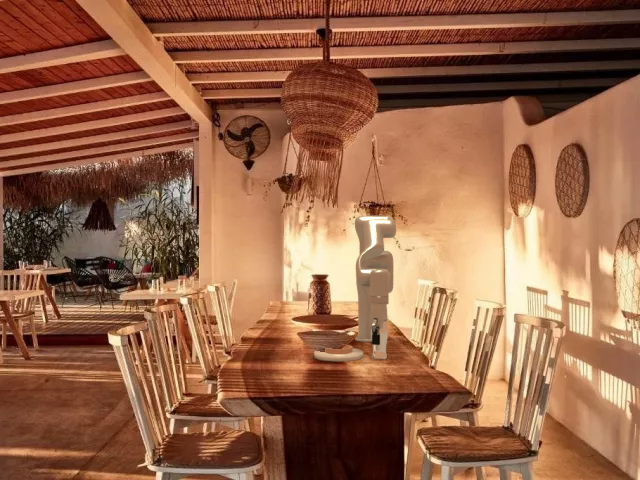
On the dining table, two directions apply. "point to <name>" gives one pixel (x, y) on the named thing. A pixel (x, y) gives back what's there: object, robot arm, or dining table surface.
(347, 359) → the white plate
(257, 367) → the dining table surface
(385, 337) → the beer glass
